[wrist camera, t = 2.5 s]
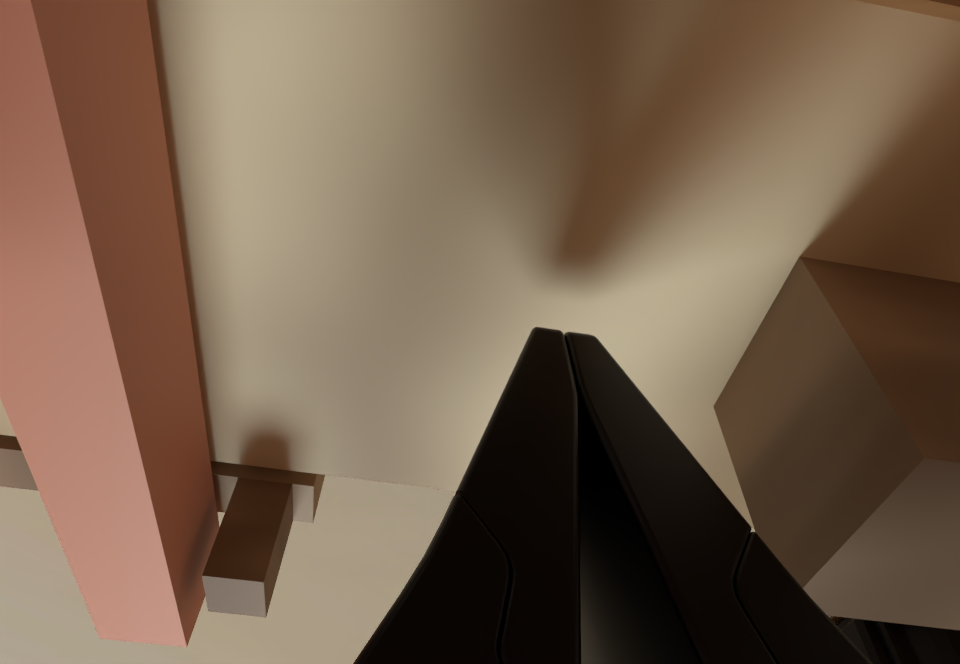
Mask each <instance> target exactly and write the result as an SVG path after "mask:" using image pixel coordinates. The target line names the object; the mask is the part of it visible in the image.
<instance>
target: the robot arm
mask: <svg viewBox="0 0 960 664" xmlns="http://www.w3.org/2000/svg"><path fill="white" fill-rule="evenodd" d="M750 532H751V526H750V525H749V523H748V522H747V521H746V520H745V519H744V517H743V516H742V515H741V514H740V512H739V511H738V510H737V509H736V508H735V506H734V505H733V504H732V503H731V501H730V500H729V499H728V498H727V497H726V495H725V494H724V493H723V492H722V490H721V489H720V488H719V487H718V485H717V484H716V483H715V482H714V481H713V479H712V478H711V477H710V476H709V474H708V473H707V472H706V471H705V470H704V468H703V467H702V466H701V465H700V463H699V462H698V461H697V460H696V458H695V457H694V456H693V455H692V454H691V452H690V451H689V450H688V449H687V447H686V446H685V445H684V444H683V443H682V441H681V440H680V439H679V438H678V436H677V435H676V434H675V433H674V432H673V430H672V429H671V428H670V427H669V425H668V424H667V423H666V422H665V420H664V419H663V418H662V417H661V416H660V414H659V413H658V412H657V411H656V409H655V408H654V407H653V406H652V405H651V403H650V402H649V401H648V400H647V398H646V397H645V396H644V395H643V394H642V392H641V391H640V390H639V389H638V387H637V386H636V385H635V384H634V382H633V381H632V380H631V379H630V378H629V376H628V375H627V374H626V373H625V371H624V370H623V369H622V368H621V367H620V365H619V364H618V363H617V362H616V360H615V359H614V358H613V357H612V356H611V354H610V353H609V352H608V351H607V349H606V348H605V347H604V346H603V344H602V343H601V342H600V341H599V340H598V339H597V338H596V337H595V336H593V335H590V334H583V333H576V332H566V333H565V334H564V333H563V332H562V331H560V330H556V329H549V328H543V327H534V328H533V329H532V330H531V332H530V335H529V337H528V339H527V341H526V343H525V345H524V347H523V350H522V352H521V354H520V356H519V358H518V360H517V362H516V365H515V367H514V369H513V371H512V373H511V375H510V377H509V380H508V382H507V384H506V386H505V388H504V390H503V392H502V395H501V397H500V399H499V401H498V403H497V405H496V407H495V410H494V412H493V414H492V416H491V418H490V420H489V422H488V425H487V427H486V429H485V431H484V433H483V435H482V437H481V440H480V442H479V444H478V446H477V448H476V450H475V452H474V455H473V457H472V459H471V461H470V463H469V465H468V467H467V470H466V472H465V474H464V476H463V478H462V480H461V482H460V485H459V487H458V489H457V491H456V494H455V496H454V497H453V499H452V501H451V503H450V505H449V507H448V509H447V512H446V514H445V516H444V518H443V520H442V522H441V524H440V526H439V528H438V530H437V532H436V534H435V536H434V538H433V540H432V541H431V543H430V545H429V547H428V549H427V551H426V553H425V555H424V557H423V558H422V560H421V561H420V563H419V565H418V566H417V568H416V570H415V571H414V573H413V574H412V576H411V578H410V579H409V581H408V582H407V584H406V586H405V587H404V589H403V590H402V592H401V594H400V595H399V597H398V598H397V600H396V601H395V603H394V604H393V606H392V607H391V608H390V610H389V611H388V613H387V614H386V616H385V617H384V619H383V620H382V622H381V623H380V625H379V626H378V628H377V629H376V631H375V632H374V634H373V635H372V637H371V638H370V640H369V641H368V643H367V644H366V646H365V647H364V648H363V650H362V651H361V653H360V654H359V656H358V657H357V659H356V660H355V662H354V663H353V664H960V630H952V629H943V628H934V627H926V626H917V625H908V624H899V623H890V622H881V621H872V620H863V619H854V618H845V619H844V620H843V621H842V622H841V623H840V624H838V625H836V624H835V623H834V622H833V621H832V620H831V619H830V618H829V617H828V616H827V615H826V614H825V612H824V611H823V610H822V609H821V608H820V607H819V606H818V605H817V604H816V603H815V602H814V601H813V599H812V598H811V597H810V596H809V595H808V594H807V593H806V591H805V590H804V589H803V588H802V587H801V586H800V584H799V583H798V582H797V581H796V580H795V579H794V577H793V576H792V575H791V574H790V573H789V572H788V570H787V569H786V568H785V567H784V566H783V564H782V563H781V562H780V561H779V560H778V559H777V557H776V556H775V555H774V554H773V553H772V551H771V550H770V549H769V548H768V546H767V545H766V544H765V543H764V542H763V540H762V539H761V538H760V537H759V535H758V534H757V533H756V532H751V533H750Z"/></svg>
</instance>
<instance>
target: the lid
mask: <svg viewBox="0 0 960 664" xmlns="http://www.w3.org/2000/svg"><path fill="white" fill-rule="evenodd" d="M147 7H148V14H149V21H150V29H151V36H152V43H153V50H154V58H155V65H156V72H157V79H158V86H159V94H160V101H161V108H162V115H163V123H164V130H165V137H166V144H167V152H168V159H169V166H170V173H171V181H172V188H173V195H174V202H175V209H176V217H177V224H178V231H179V238H180V246H181V253H182V260H183V267H184V275H185V282H186V289H187V296H188V304H189V311H190V318H191V325H192V332H193V340H194V347H195V354H196V361H197V369H198V376H199V383H200V390H201V398H202V405H203V412H204V419H205V427H206V434H207V441H208V448H209V455H210V461H217V462H225V463H233V464H242V465H250V466H258V467H266V468H274V469H282V470H290V471H298V472H306V473H314V474H322V475H330V476H338V477H346V478H354V479H363V480H371V481H379V482H387V483H395V484H403V485H411V486H419V487H427V488H435V489H443V490H451V491H457V489H458V487H459V485H460V482H461V480H462V478H463V476H464V474H465V472H466V470H467V467H468V465H469V463H470V461H471V459H472V457H473V455H474V452H475V450H476V448H477V446H478V444H479V442H480V440H481V437H482V435H483V433H484V431H485V429H486V427H487V425H488V422H489V420H490V418H491V416H492V414H493V412H494V410H495V407H496V405H497V403H498V401H499V399H500V397H501V395H502V392H503V390H504V388H505V386H506V384H507V382H508V380H509V377H510V375H511V373H512V371H513V369H514V367H515V365H516V362H517V360H518V358H519V356H520V354H521V352H522V350H523V347H524V345H525V343H526V341H527V339H528V337H529V335H530V332H531V330H532V329H533V328H534V327H543V328H549V329H556V330H560V331H562V332H563V333H564V334H565V333H566V332H576V333H583V334H590V335H593V336H595V337H596V338H597V339H598V340H599V341H600V342H601V343H602V344H603V346H604V347H605V348H606V349H607V351H608V352H609V353H610V354H611V356H612V357H613V358H614V359H615V360H616V362H617V363H618V364H619V365H620V367H621V368H622V369H623V370H624V371H625V373H626V374H627V375H628V376H629V378H630V379H631V380H632V381H633V382H634V384H635V385H636V386H637V387H638V389H639V390H640V391H641V392H642V394H643V395H644V396H645V397H646V398H647V400H648V401H649V402H650V403H651V405H652V406H653V407H654V408H655V409H656V411H657V412H658V413H659V414H660V416H661V417H662V418H663V419H664V420H665V422H666V423H667V424H668V425H669V427H670V428H671V429H672V430H673V432H674V433H675V434H676V435H677V436H678V438H679V439H680V440H681V441H682V443H683V444H684V445H685V446H686V447H687V449H688V450H689V451H690V452H691V454H692V455H693V456H694V457H695V458H696V460H697V461H698V462H699V463H700V465H701V466H702V467H703V468H704V470H705V471H706V472H707V473H708V474H709V476H710V477H711V478H712V479H713V481H714V482H715V483H716V484H717V485H718V487H719V488H720V489H721V490H722V492H723V493H724V494H725V495H726V497H727V498H728V499H729V500H730V501H731V503H732V504H733V505H734V506H735V508H736V509H737V510H738V511H739V512H740V514H741V515H742V516H743V517H744V519H745V520H746V521H747V522H748V523H749V525H750V526H751V528H754V529H755V532H756V533H757V534H758V535H759V537H760V538H761V539H762V540H763V542H764V543H765V544H766V545H767V546H768V548H769V549H770V550H771V551H772V553H773V554H774V555H775V556H776V557H777V559H778V560H779V561H780V562H781V563H782V564H783V566H784V567H785V568H786V569H787V570H788V572H789V573H790V574H791V575H792V576H793V577H794V579H795V580H796V581H797V582H798V583H799V584H800V586H801V587H802V588H803V589H804V590H805V591H806V593H807V594H808V595H809V596H810V597H811V598H812V599H813V601H814V602H815V603H816V604H817V605H818V606H819V607H820V608H821V609H822V610H823V611H824V612H825V614H826V615H828V616H837V617H845V618H854V619H863V620H872V621H881V622H890V623H899V624H908V625H917V626H926V627H934V628H943V629H952V630H960V7H958V6H953V5H949V4H944V3H939V2H934V1H929V0H147ZM0 435H8V436H16V435H15V432H14V430H13V428H12V425H11V423H10V420H9V418H8V416H7V413H6V411H5V408H4V406H3V404H2V401H1V399H0Z"/></svg>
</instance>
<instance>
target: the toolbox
mask: <svg viewBox="0 0 960 664" xmlns="http://www.w3.org/2000/svg"><path fill="white" fill-rule="evenodd" d="M929 1H934V2H939V3H944V4H949V5H953V6H958V7H960V0H929ZM210 463H211V470H212V477H213V484H214V492H215V499H216V506H217V512H225V515H224V517H223V520H222V523H221V525H220V528H219V531H218V534H217V536H216V539H215V542H214V544H213V547H212V550H211V552H210V555H209V558H208V560H207V563H206V566H205V569H204V571H203V574H202V579H203V585H204V590H205V596H206V601H207V607H208V611H211V612H220V613H230V614H240V615H249V616H259V617H266V616H267V612H268V608H269V605H270V601H271V598H272V594H273V590H274V587H275V583H276V580H277V576H278V572H279V569H280V565H281V561H282V558H283V554H284V551H285V547H286V543H287V540H288V536H289V533H290V529H291V525H292V522H293V521H302V522H311V523H313V521H314V517H315V513H316V509H317V505H318V501H319V497H320V493H321V489H322V485H323V481H324V477H325V475H322V474H314V473H306V472H298V471H290V470H282V469H274V468H266V467H258V466H250V465H242V464H233V463H225V462H217V461H210ZM0 486H3V487H12V488H20V489H29V490H38V488H37V485H36V483H35V481H34V478H33V476H32V473H31V471H30V469H29V466H28V464H27V461H26V459H25V457H24V454H23V452H22V449H21V447H20V444H19V442H18V440H17V437H16V436H8V435H0ZM38 491H39V490H38Z"/></svg>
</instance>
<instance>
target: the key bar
mask: <svg viewBox="0 0 960 664" xmlns="http://www.w3.org/2000/svg"><path fill="white" fill-rule="evenodd" d="M0 399H1V401H2V404H3V406H4V408H5V411H6V413H7V416H8V418H9V420H10V423H11V425H12V428H13V430H14V432H15V435H16V437H17V440H18V442H19V444H20V447H21V449H22V452H23V454H24V457H25V459H26V461H27V464H28V466H29V469H30V471H31V473H32V476H33V478H34V481H35V483H36V485H37V488H38V490H39V493H40V495H41V497H42V500H43V502H44V505H45V507H46V509H47V512H48V514H49V517H50V519H51V521H52V524H53V526H54V529H55V531H56V533H57V536H58V538H59V541H60V543H61V546H62V548H63V550H64V553H65V555H66V558H67V560H68V562H69V565H70V567H71V570H72V572H73V574H74V577H75V579H76V582H77V584H78V586H79V589H80V591H81V594H82V596H83V598H84V601H85V603H86V606H87V608H88V610H89V613H90V615H91V618H92V620H93V622H94V625H95V627H96V630H97V632H98V635H99V637H100V638H101V639H111V640H121V641H131V642H141V643H151V644H162V645H172V646H182V647H187V645H188V642H189V639H190V637H191V634H192V631H193V628H194V625H195V623H196V620H197V617H198V614H199V612H200V609H201V606H202V603H203V600H204V598H205V590H204V585H203V579H202V574H203V571H204V569H205V566H206V563H207V560H208V558H209V555H210V552H211V550H212V547H213V544H214V542H215V539H216V536H217V534H218V531H219V521H218V513H217V506H216V499H215V492H214V484H213V477H212V470H211V463H210V455H209V448H208V441H207V434H206V427H205V419H204V412H203V405H202V398H201V390H200V383H199V376H198V369H197V361H196V354H195V347H194V340H193V332H192V325H191V318H190V311H189V304H188V296H187V289H186V282H185V275H184V267H183V260H182V253H181V246H180V238H179V231H178V224H177V217H176V209H175V202H174V195H173V188H172V181H171V173H170V166H169V159H168V152H167V144H166V137H165V130H164V123H163V115H162V108H161V101H160V94H159V86H158V79H157V72H156V65H155V58H154V50H153V43H152V36H151V29H150V21H149V14H148V7H147V0H0Z"/></svg>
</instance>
